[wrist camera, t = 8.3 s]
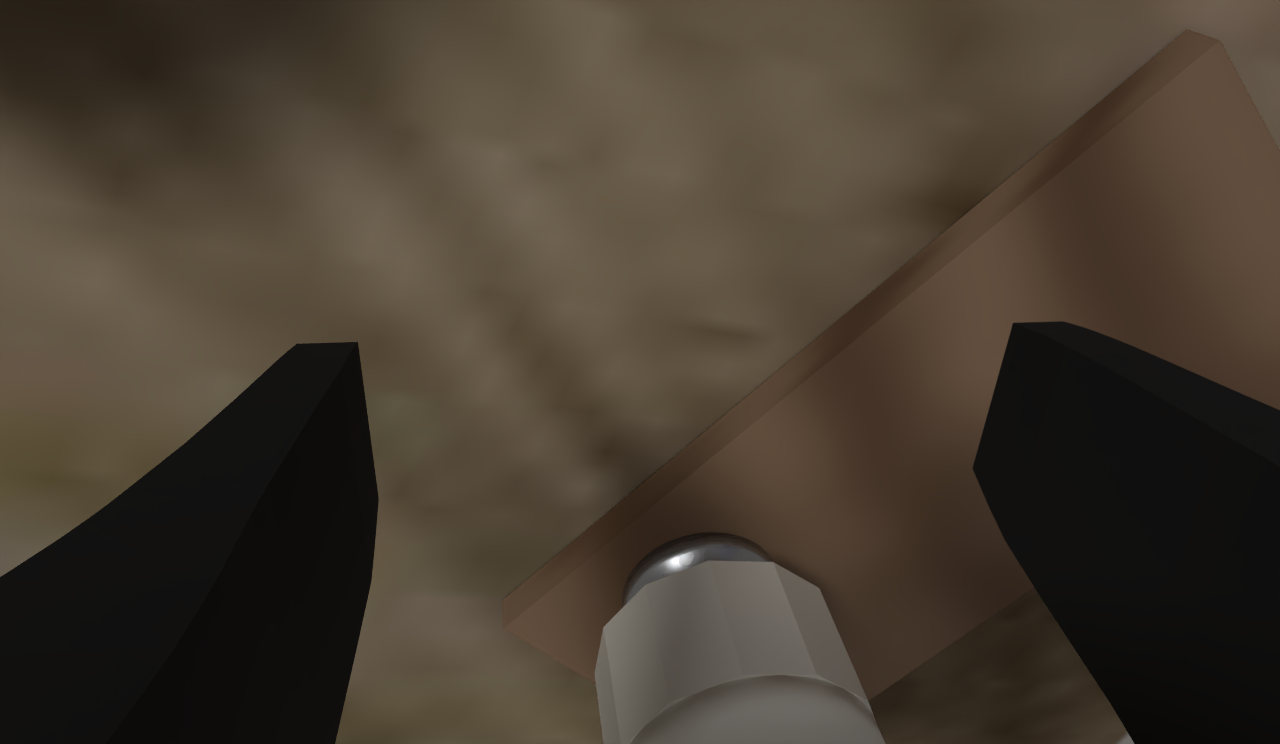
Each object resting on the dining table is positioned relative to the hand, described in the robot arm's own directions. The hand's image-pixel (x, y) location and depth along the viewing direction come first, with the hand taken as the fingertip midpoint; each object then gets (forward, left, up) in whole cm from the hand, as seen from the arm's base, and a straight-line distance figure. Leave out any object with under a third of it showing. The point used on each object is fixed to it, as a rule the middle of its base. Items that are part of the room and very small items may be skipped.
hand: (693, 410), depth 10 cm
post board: (0, +12, -9) cm, 15 cm away
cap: (+6, +10, -7) cm, 13 cm away
